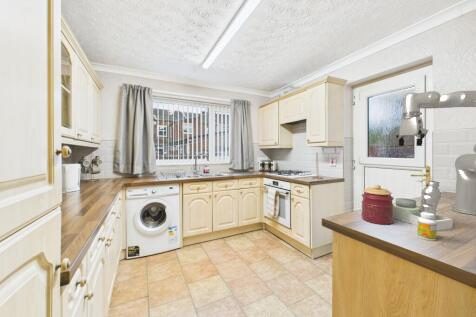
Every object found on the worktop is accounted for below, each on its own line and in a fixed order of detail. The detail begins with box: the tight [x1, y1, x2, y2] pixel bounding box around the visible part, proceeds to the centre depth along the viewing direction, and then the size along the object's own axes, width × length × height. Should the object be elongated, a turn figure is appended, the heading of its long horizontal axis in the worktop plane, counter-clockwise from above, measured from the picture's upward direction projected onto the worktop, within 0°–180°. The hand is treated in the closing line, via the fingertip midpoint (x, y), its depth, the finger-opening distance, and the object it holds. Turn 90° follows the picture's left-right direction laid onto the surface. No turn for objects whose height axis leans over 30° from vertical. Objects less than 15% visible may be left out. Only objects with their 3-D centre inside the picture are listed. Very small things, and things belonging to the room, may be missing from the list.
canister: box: [360, 184, 394, 226], centre depth 101 cm, size 13×13×18 cm
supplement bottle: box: [417, 212, 437, 242], centre depth 81 cm, size 5×5×10 cm
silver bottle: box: [417, 180, 442, 221], centre depth 95 cm, size 6×7×20 cm
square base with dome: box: [392, 197, 454, 232], centre depth 100 cm, size 12×22×9 cm, turn 15°
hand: (409, 145), depth 119 cm, fingers open, 9 cm apart
